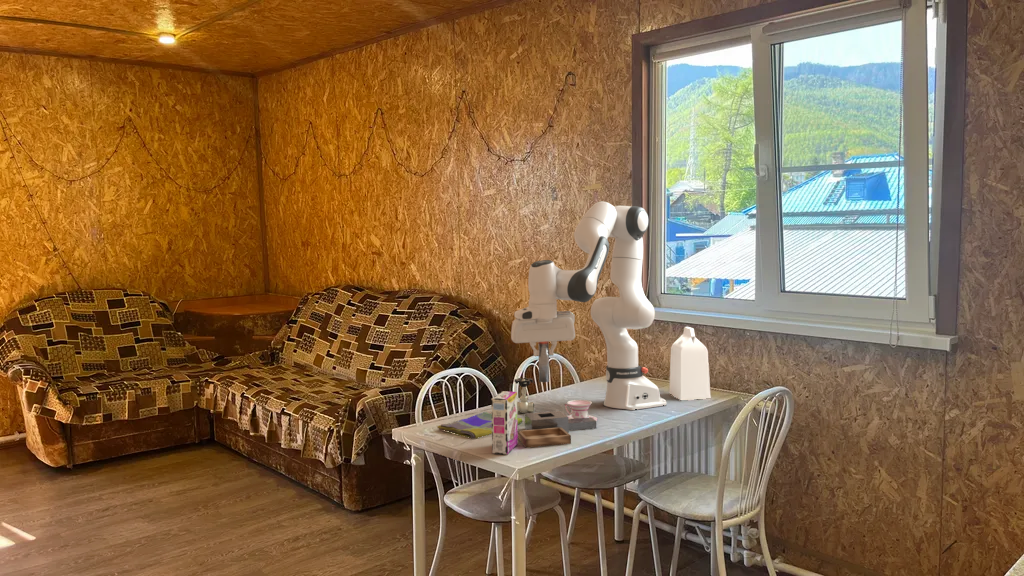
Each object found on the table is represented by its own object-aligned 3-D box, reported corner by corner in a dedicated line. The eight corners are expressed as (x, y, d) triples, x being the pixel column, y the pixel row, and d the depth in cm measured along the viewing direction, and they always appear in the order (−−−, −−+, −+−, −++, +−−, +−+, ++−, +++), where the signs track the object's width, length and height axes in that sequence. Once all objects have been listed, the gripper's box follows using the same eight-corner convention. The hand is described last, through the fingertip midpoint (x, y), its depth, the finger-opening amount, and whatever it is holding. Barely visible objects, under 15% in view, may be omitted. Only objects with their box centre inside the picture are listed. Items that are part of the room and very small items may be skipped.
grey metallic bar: (547, 379, 246) (546, 337, 245) (550, 381, 243) (549, 339, 242) (537, 380, 246) (537, 338, 245) (540, 382, 242) (539, 339, 241)
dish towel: (525, 425, 257) (524, 417, 257) (472, 441, 239) (471, 433, 239) (488, 417, 269) (487, 409, 269) (435, 432, 251) (434, 424, 251)
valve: (532, 415, 268) (531, 381, 267) (513, 415, 269) (512, 381, 268) (535, 411, 274) (534, 377, 273) (517, 410, 276) (516, 377, 275)
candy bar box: (508, 455, 222) (506, 399, 221) (491, 454, 224) (490, 398, 222) (519, 444, 233) (517, 390, 232) (503, 443, 234) (501, 390, 233)
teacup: (599, 416, 264) (598, 398, 264) (595, 425, 253) (595, 407, 252) (564, 415, 267) (563, 398, 266) (559, 424, 255) (558, 406, 255)
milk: (710, 399, 285) (710, 329, 283) (680, 400, 283) (680, 330, 281) (697, 392, 297) (697, 325, 295) (669, 394, 295) (668, 326, 293)
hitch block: (589, 422, 256) (589, 408, 255) (598, 429, 247) (598, 414, 246) (524, 428, 251) (524, 413, 250) (532, 435, 242) (531, 420, 241)
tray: (561, 435, 242) (561, 427, 242) (571, 443, 232) (570, 435, 232) (518, 439, 239) (517, 431, 239) (525, 447, 229) (525, 439, 229)
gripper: (571, 309, 248) (572, 352, 249) (509, 312, 244) (510, 355, 245) (577, 311, 242) (578, 355, 243) (513, 314, 237) (514, 359, 238)
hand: (543, 355), depth 244 cm, fingers closed on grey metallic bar, 3 cm apart
